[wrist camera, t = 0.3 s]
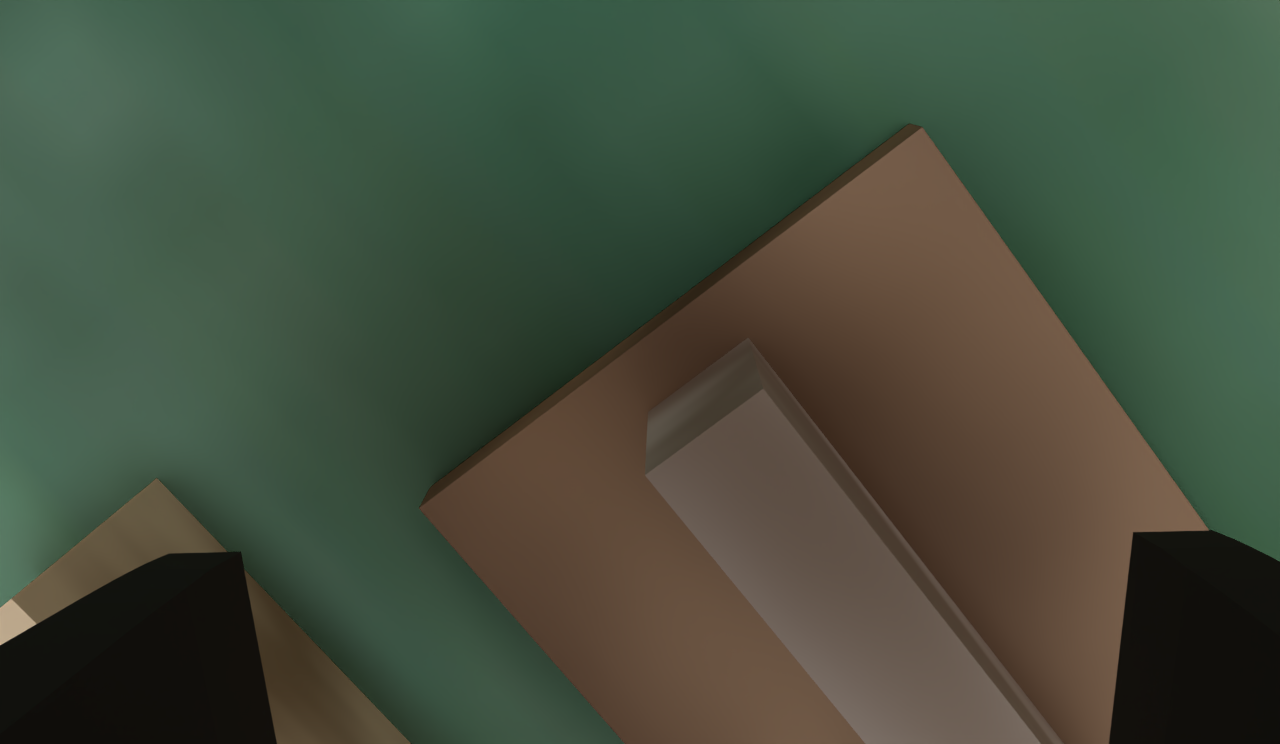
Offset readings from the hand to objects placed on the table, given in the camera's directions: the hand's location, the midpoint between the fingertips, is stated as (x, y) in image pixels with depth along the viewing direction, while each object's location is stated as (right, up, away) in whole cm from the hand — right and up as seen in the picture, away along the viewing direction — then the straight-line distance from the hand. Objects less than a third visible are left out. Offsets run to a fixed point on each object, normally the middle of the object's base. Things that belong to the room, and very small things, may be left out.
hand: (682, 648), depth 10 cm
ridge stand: (+5, -3, +12) cm, 13 cm away
